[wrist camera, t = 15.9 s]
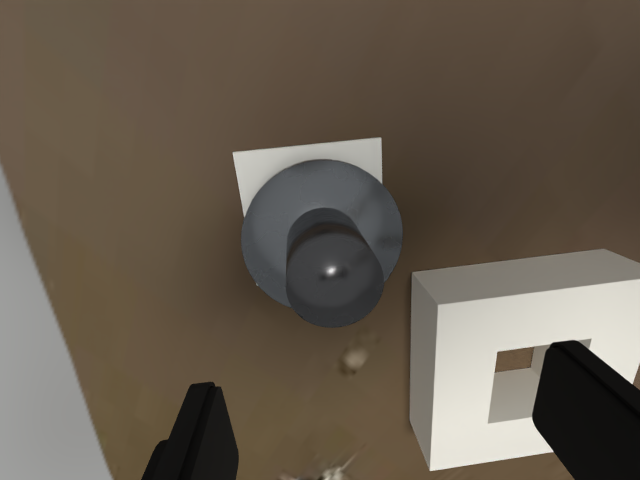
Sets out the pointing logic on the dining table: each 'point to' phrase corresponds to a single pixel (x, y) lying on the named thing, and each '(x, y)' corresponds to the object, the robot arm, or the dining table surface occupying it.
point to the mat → (269, 161)
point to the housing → (509, 345)
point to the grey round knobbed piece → (322, 240)
